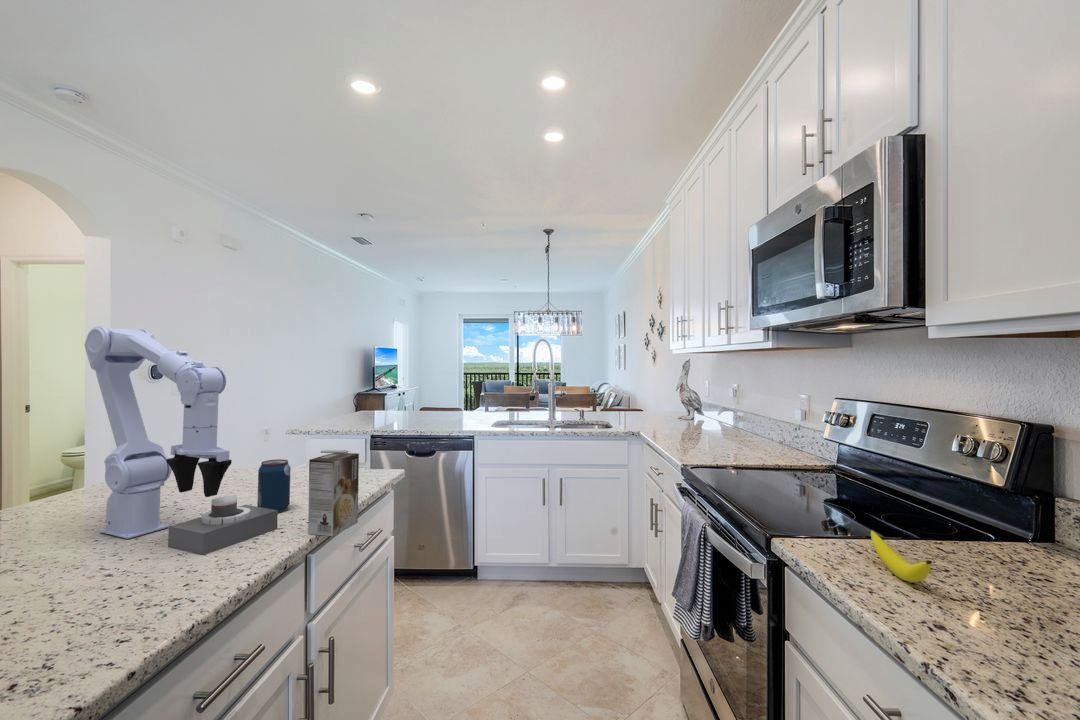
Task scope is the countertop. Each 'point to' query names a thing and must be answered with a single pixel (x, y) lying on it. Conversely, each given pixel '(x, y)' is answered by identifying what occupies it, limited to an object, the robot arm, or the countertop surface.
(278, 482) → the soda can
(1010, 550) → the countertop surface
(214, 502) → the lens
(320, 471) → the cardboard rectangular box
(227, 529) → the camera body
